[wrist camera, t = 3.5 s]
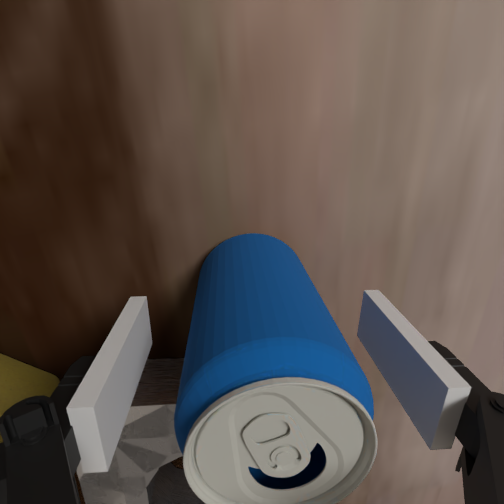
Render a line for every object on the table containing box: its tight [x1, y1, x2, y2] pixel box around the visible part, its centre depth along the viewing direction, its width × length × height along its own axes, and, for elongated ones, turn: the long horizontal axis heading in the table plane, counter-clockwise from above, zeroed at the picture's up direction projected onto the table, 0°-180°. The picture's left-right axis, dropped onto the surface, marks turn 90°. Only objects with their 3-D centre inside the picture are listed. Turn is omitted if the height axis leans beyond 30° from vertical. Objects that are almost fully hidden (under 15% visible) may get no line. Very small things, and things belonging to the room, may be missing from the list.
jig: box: [76, 358, 205, 504], centre depth 23 cm, size 16×16×4 cm
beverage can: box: [174, 233, 377, 504], centre depth 15 cm, size 6×6×12 cm
